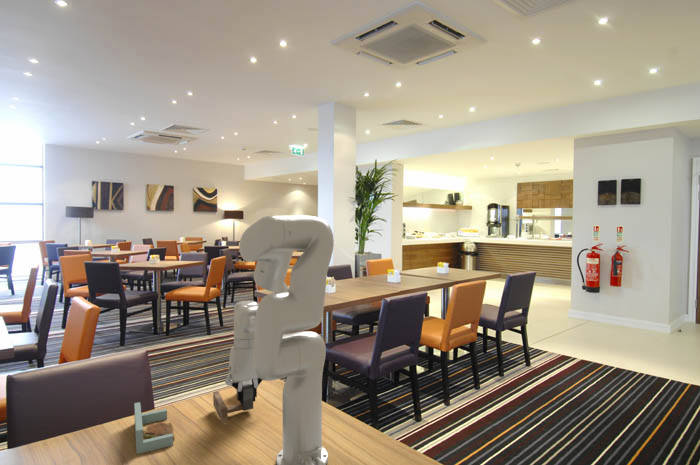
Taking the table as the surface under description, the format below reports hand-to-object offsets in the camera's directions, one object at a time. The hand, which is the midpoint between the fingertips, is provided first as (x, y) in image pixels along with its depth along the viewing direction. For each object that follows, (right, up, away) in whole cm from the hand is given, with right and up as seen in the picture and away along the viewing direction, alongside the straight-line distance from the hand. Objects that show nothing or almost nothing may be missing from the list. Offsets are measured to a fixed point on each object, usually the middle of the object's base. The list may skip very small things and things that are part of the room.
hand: (247, 400), depth 126 cm
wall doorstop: (-3, -2, -2) cm, 4 cm away
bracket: (-23, -4, -13) cm, 26 cm away
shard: (-20, -5, -12) cm, 24 cm away
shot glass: (-4, -3, +14) cm, 15 cm away
